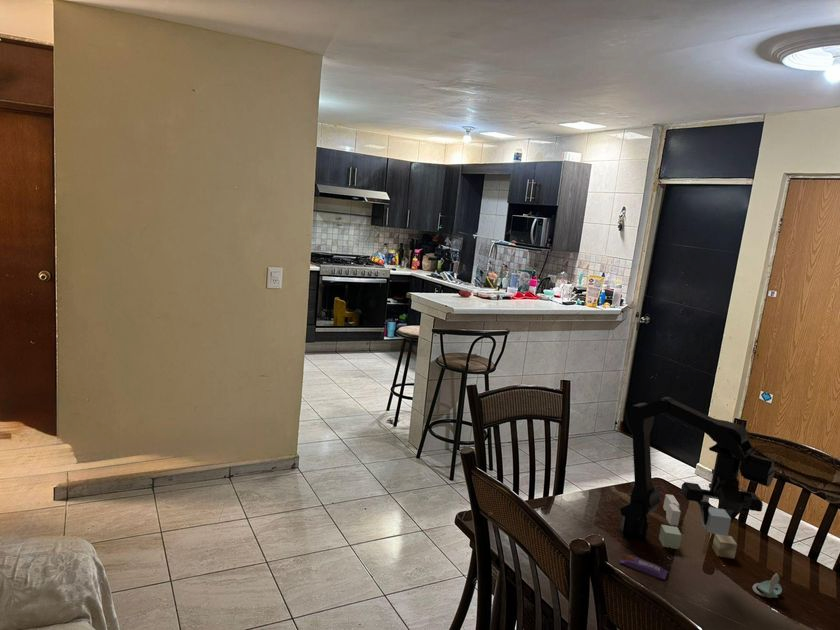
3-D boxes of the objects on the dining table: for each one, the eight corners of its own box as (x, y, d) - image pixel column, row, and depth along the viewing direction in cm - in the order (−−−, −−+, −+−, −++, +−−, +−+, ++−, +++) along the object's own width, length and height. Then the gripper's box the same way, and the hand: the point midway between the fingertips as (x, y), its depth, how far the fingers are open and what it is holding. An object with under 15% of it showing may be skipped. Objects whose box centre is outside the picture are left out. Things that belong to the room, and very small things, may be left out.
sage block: (662, 546, 166) (665, 532, 165) (658, 538, 170) (661, 524, 170) (678, 549, 165) (681, 535, 165) (674, 541, 170) (677, 527, 169)
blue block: (707, 532, 152) (711, 515, 151) (701, 523, 157) (705, 506, 156) (727, 536, 151) (731, 518, 151) (721, 526, 156) (724, 509, 155)
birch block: (717, 556, 164) (720, 541, 163) (712, 547, 168) (714, 533, 168) (734, 559, 163) (737, 544, 163) (728, 550, 168) (731, 536, 167)
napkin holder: (660, 504, 194) (663, 488, 193) (695, 519, 186) (698, 502, 185) (641, 517, 183) (644, 500, 182) (677, 533, 175) (680, 516, 174)
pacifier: (748, 593, 148) (774, 604, 144) (752, 570, 147) (778, 581, 143) (757, 582, 153) (782, 593, 149) (760, 560, 152) (786, 571, 148)
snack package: (668, 567, 153) (665, 576, 149) (667, 574, 153) (664, 583, 149) (624, 551, 159) (620, 559, 155) (623, 557, 159) (618, 565, 155)
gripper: (698, 478, 145) (687, 535, 148) (777, 490, 142) (765, 548, 145) (685, 461, 156) (675, 514, 158) (758, 472, 153) (747, 526, 156)
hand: (715, 525), depth 154 cm, fingers closed on blue block, 5 cm apart
